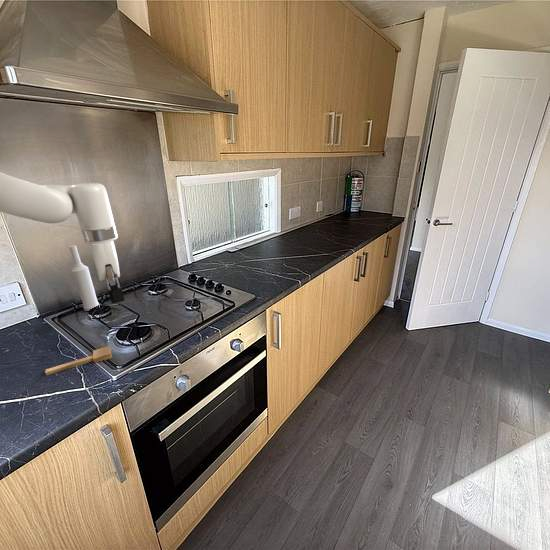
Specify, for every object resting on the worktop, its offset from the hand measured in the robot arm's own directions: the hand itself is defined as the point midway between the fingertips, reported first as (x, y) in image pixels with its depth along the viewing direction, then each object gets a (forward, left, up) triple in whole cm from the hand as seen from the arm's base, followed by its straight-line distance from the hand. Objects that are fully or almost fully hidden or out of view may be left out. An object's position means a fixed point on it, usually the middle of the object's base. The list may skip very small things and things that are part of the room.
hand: (117, 296), depth 82 cm
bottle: (-10, +34, -18) cm, 40 cm away
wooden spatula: (-13, 0, -18) cm, 22 cm away
